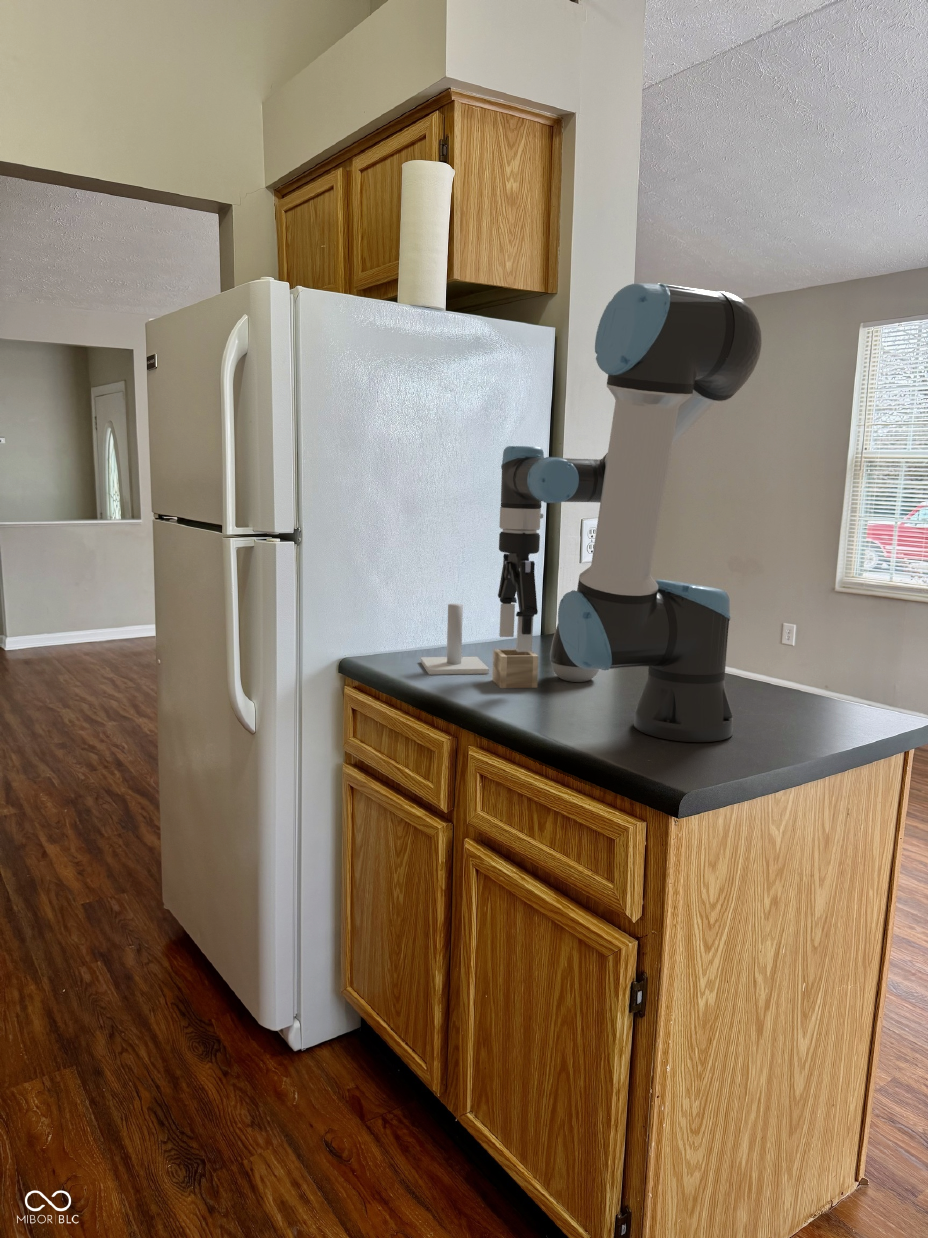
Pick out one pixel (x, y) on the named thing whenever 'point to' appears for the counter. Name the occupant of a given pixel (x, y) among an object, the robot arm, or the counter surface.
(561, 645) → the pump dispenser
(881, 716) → the counter surface
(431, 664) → the post fixture
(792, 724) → the counter surface
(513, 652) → the collar
